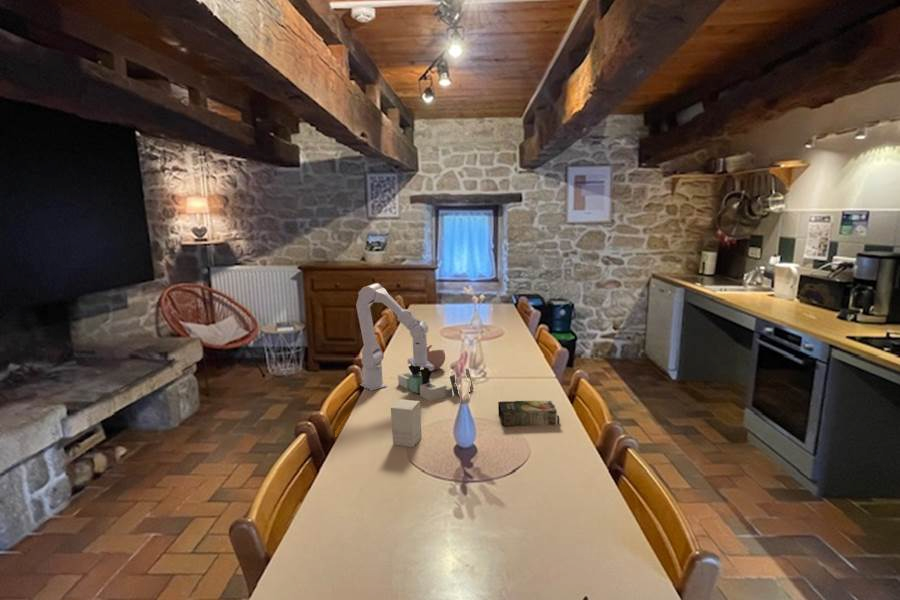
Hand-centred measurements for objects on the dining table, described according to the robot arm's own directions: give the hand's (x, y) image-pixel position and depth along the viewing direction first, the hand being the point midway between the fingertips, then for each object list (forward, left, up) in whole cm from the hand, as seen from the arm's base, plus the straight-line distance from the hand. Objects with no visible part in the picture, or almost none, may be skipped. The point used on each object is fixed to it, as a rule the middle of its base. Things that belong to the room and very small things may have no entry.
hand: (421, 383), depth 193 cm
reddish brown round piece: (-19, +19, -3) cm, 27 cm away
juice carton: (+48, +13, -4) cm, 50 cm away
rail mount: (0, +1, -3) cm, 3 cm away
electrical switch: (+13, +11, -3) cm, 17 cm away
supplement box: (+34, -28, -3) cm, 44 cm away
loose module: (0, -1, -2) cm, 3 cm away
